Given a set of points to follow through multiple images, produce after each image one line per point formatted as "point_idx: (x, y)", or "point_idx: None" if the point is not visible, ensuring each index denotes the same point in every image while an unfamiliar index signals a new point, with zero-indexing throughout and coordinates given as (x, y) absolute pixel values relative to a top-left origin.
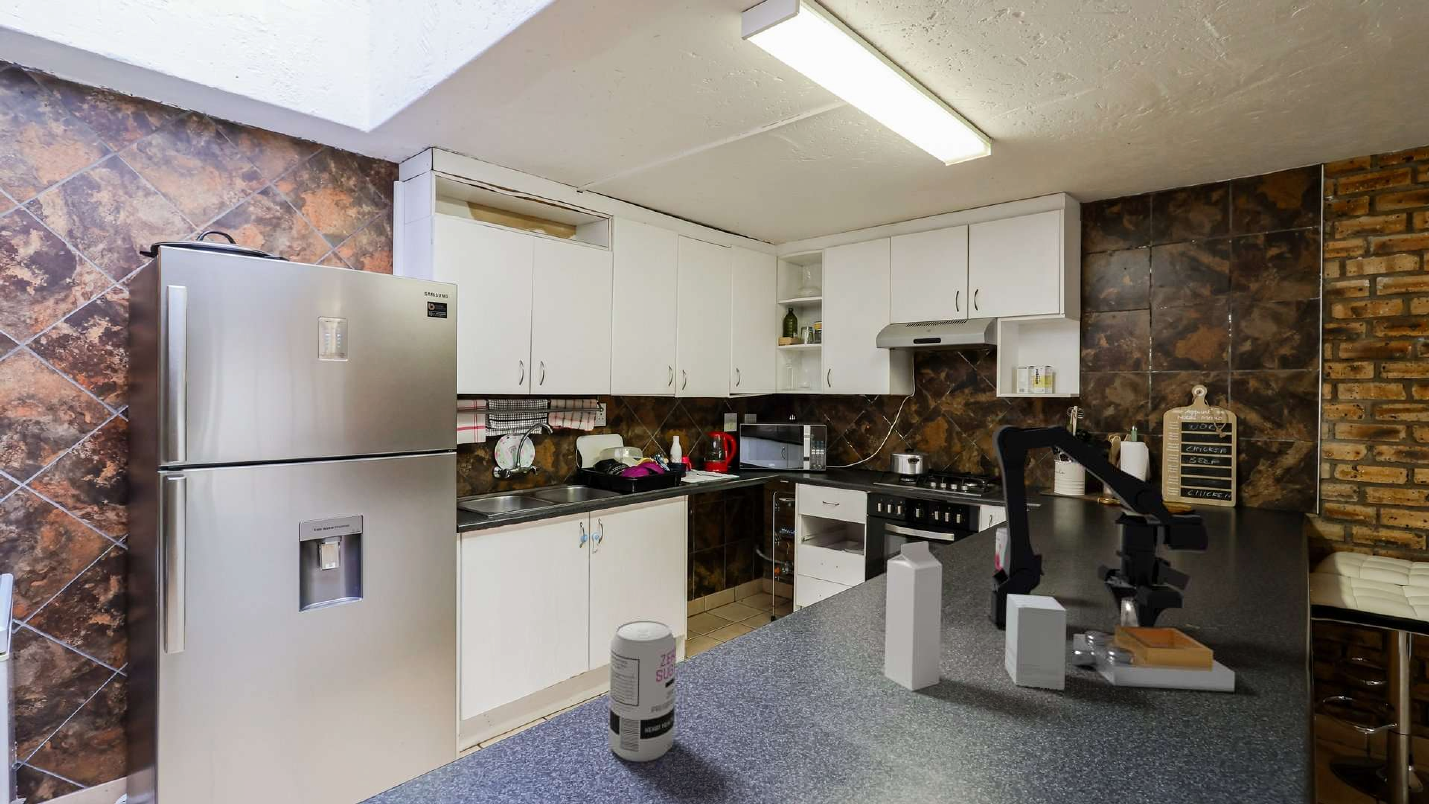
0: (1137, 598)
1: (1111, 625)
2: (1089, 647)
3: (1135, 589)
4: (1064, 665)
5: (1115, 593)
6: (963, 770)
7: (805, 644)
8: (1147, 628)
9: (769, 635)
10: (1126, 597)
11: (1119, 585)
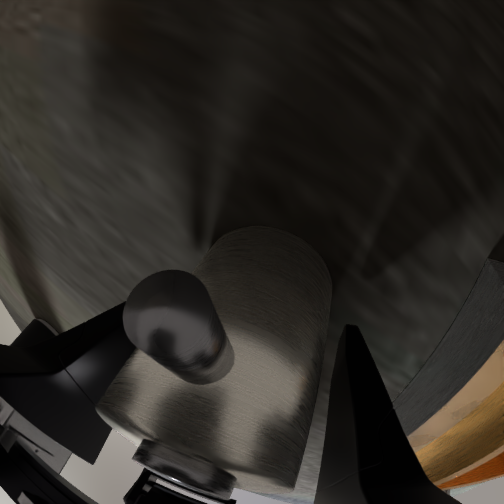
0: (182, 483)
1: (133, 273)
2: None
3: (20, 401)
4: (449, 494)
5: (99, 435)
6: (474, 485)
7: (295, 499)
8: (464, 471)
9: (277, 498)
10: (122, 435)
11: (56, 448)
